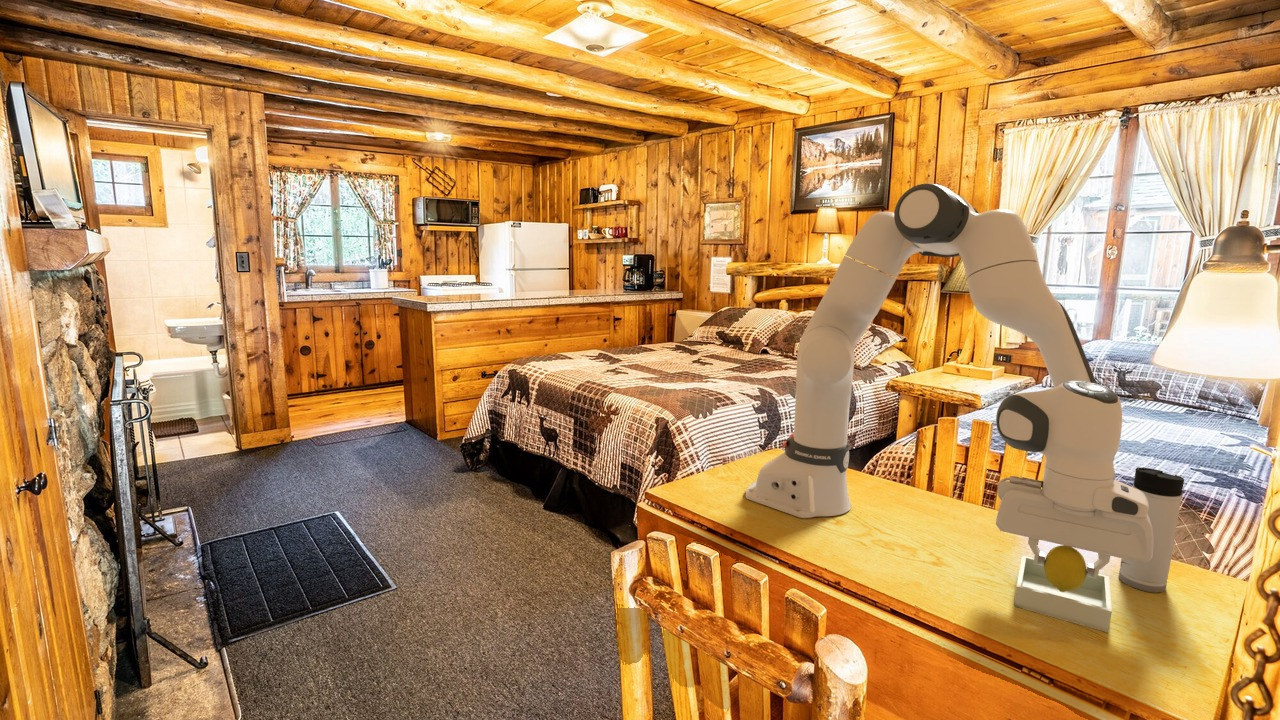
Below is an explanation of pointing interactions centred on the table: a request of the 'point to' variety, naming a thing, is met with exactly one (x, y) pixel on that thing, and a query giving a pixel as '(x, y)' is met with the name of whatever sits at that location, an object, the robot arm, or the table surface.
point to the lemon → (1065, 568)
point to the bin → (1064, 597)
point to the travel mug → (1156, 529)
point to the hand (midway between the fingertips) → (1064, 570)
